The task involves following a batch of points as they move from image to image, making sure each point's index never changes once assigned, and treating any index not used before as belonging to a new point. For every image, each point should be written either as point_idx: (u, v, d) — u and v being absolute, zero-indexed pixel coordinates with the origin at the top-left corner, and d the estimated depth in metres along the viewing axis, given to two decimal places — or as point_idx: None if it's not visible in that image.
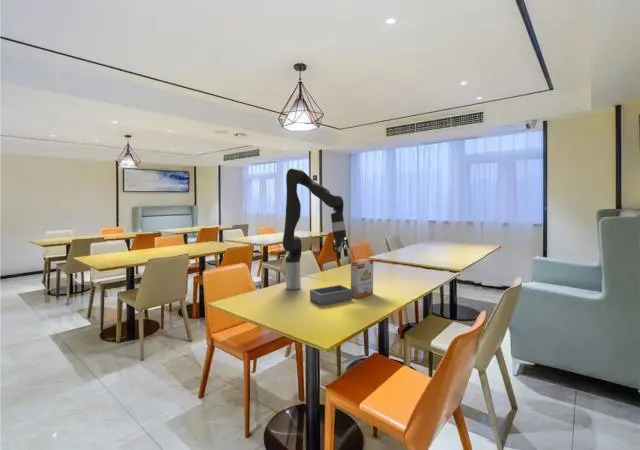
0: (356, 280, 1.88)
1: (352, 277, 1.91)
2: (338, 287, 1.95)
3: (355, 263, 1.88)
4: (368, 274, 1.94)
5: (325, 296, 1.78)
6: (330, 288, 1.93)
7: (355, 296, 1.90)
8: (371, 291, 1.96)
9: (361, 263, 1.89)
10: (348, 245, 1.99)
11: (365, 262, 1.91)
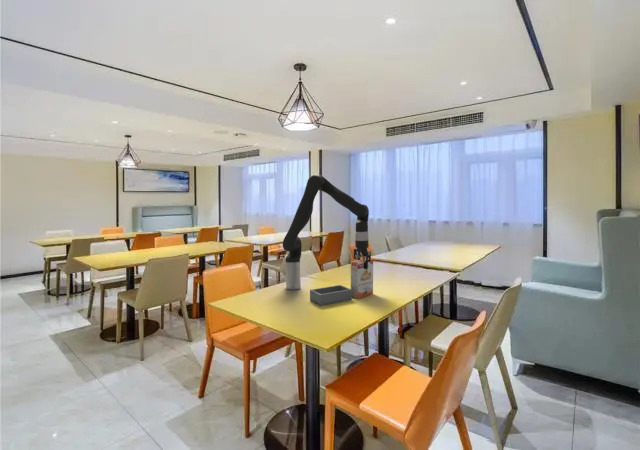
0: (356, 280, 1.88)
1: (352, 277, 1.91)
2: (338, 287, 1.95)
3: (355, 263, 1.88)
4: (368, 274, 1.94)
5: (325, 296, 1.78)
6: (330, 288, 1.93)
7: (355, 296, 1.90)
8: (371, 291, 1.96)
9: (361, 263, 1.89)
10: None
11: None
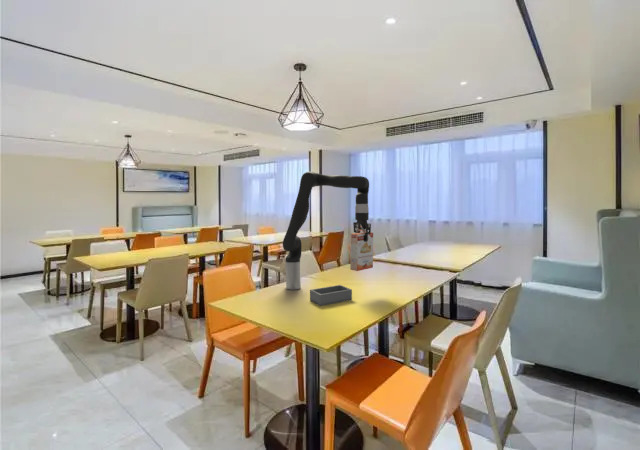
0: (356, 252, 1.87)
1: (352, 249, 1.89)
2: (338, 287, 1.95)
3: (355, 235, 1.87)
4: (368, 247, 1.92)
5: (325, 296, 1.78)
6: (330, 288, 1.93)
7: (355, 268, 1.88)
8: (371, 264, 1.95)
9: (361, 235, 1.88)
10: None
11: None
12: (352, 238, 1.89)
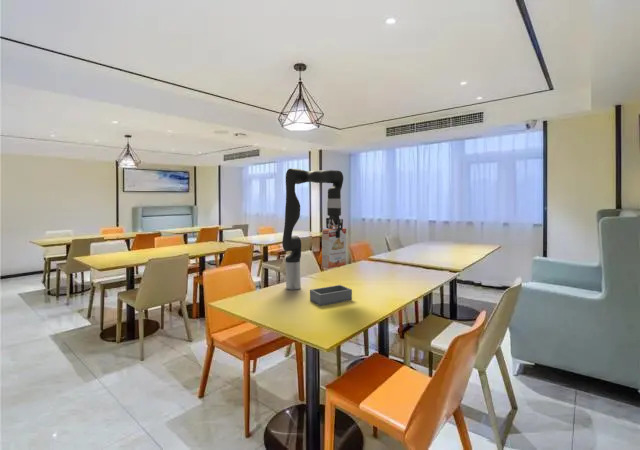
0: (327, 249, 1.80)
1: (323, 246, 1.82)
2: (338, 287, 1.95)
3: (326, 231, 1.80)
4: (341, 244, 1.86)
5: (325, 296, 1.78)
6: (330, 288, 1.93)
7: (326, 266, 1.82)
8: (344, 261, 1.89)
9: (333, 231, 1.81)
10: None
11: None
12: (324, 234, 1.82)
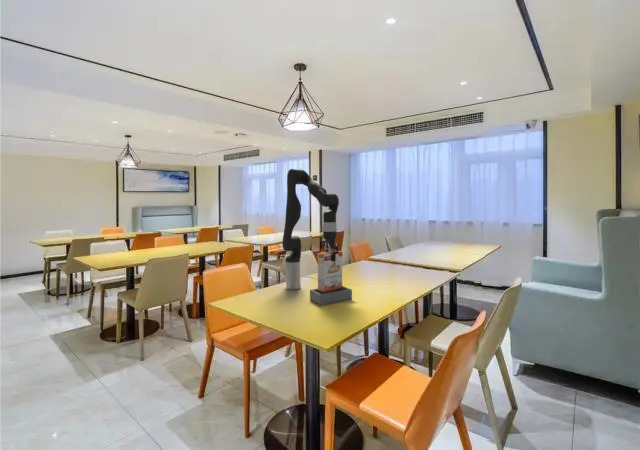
0: (323, 273, 1.80)
1: (319, 270, 1.82)
2: None
3: (322, 255, 1.80)
4: (336, 267, 1.85)
5: (325, 296, 1.78)
6: None
7: (322, 289, 1.81)
8: (340, 284, 1.88)
9: (328, 255, 1.81)
10: None
11: None
12: (319, 258, 1.82)
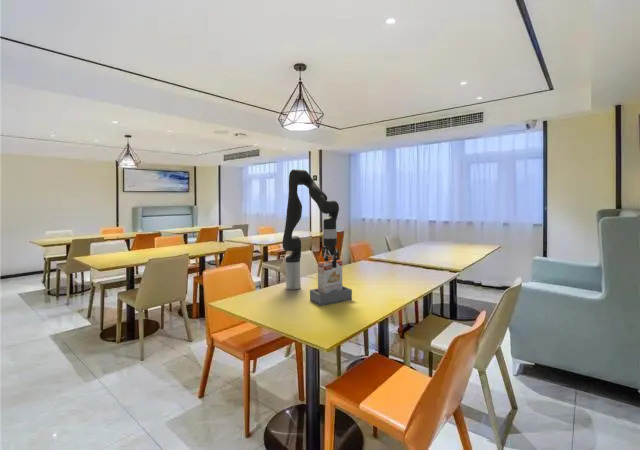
0: (323, 282, 1.81)
1: (319, 279, 1.83)
2: None
3: (322, 264, 1.81)
4: (336, 276, 1.86)
5: (325, 296, 1.78)
6: None
7: None
8: None
9: (328, 264, 1.81)
10: None
11: None
12: (319, 267, 1.82)
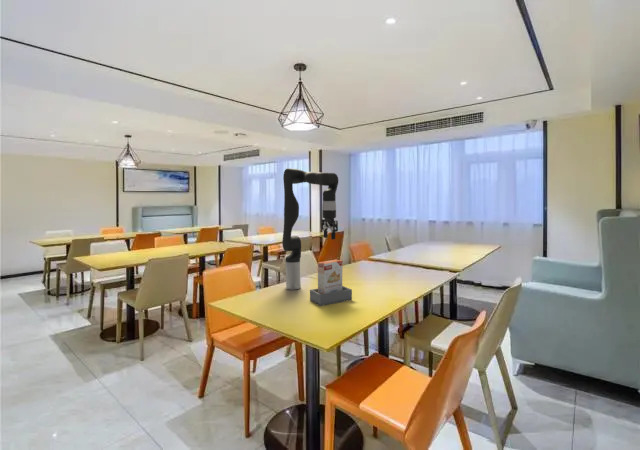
0: (323, 282, 1.81)
1: (319, 279, 1.83)
2: None
3: (322, 264, 1.81)
4: (336, 276, 1.86)
5: (325, 296, 1.78)
6: None
7: None
8: None
9: (328, 264, 1.81)
10: None
11: (333, 263, 1.84)
12: (319, 267, 1.82)
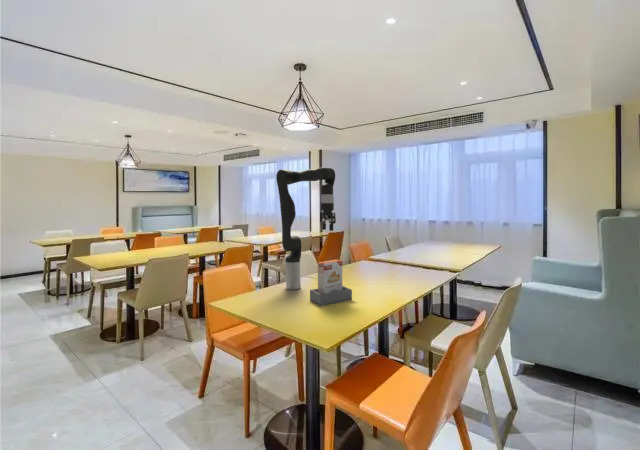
0: (323, 282, 1.81)
1: (319, 279, 1.83)
2: None
3: (322, 264, 1.81)
4: (336, 276, 1.86)
5: (325, 296, 1.78)
6: None
7: None
8: None
9: (328, 264, 1.81)
10: None
11: (333, 263, 1.84)
12: (319, 267, 1.82)
